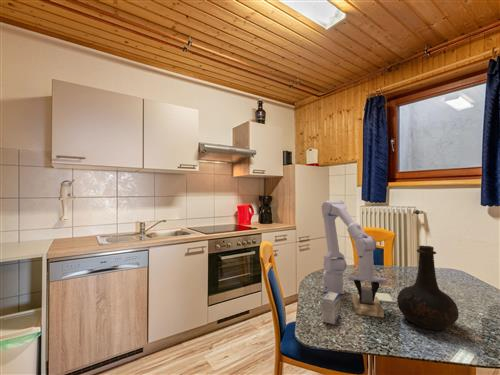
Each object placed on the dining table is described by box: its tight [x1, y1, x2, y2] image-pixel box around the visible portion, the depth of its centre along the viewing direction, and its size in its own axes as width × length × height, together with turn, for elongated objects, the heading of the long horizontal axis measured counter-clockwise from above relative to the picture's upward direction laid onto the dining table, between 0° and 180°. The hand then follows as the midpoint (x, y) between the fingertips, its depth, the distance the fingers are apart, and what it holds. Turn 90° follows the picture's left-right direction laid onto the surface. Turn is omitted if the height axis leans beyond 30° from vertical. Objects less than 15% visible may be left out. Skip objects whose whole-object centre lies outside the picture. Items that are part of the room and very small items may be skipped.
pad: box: [375, 292, 394, 304], centre depth 112 cm, size 9×9×1 cm
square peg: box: [361, 285, 373, 305], centre depth 102 cm, size 4×4×8 cm
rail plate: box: [351, 293, 385, 318], centre depth 102 cm, size 10×14×2 cm
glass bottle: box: [396, 245, 460, 331], centre depth 90 cm, size 18×18×28 cm
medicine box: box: [321, 292, 340, 325], centre depth 93 cm, size 8×4×9 cm, turn 148°
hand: (366, 299), depth 102 cm, fingers closed on square peg, 4 cm apart
